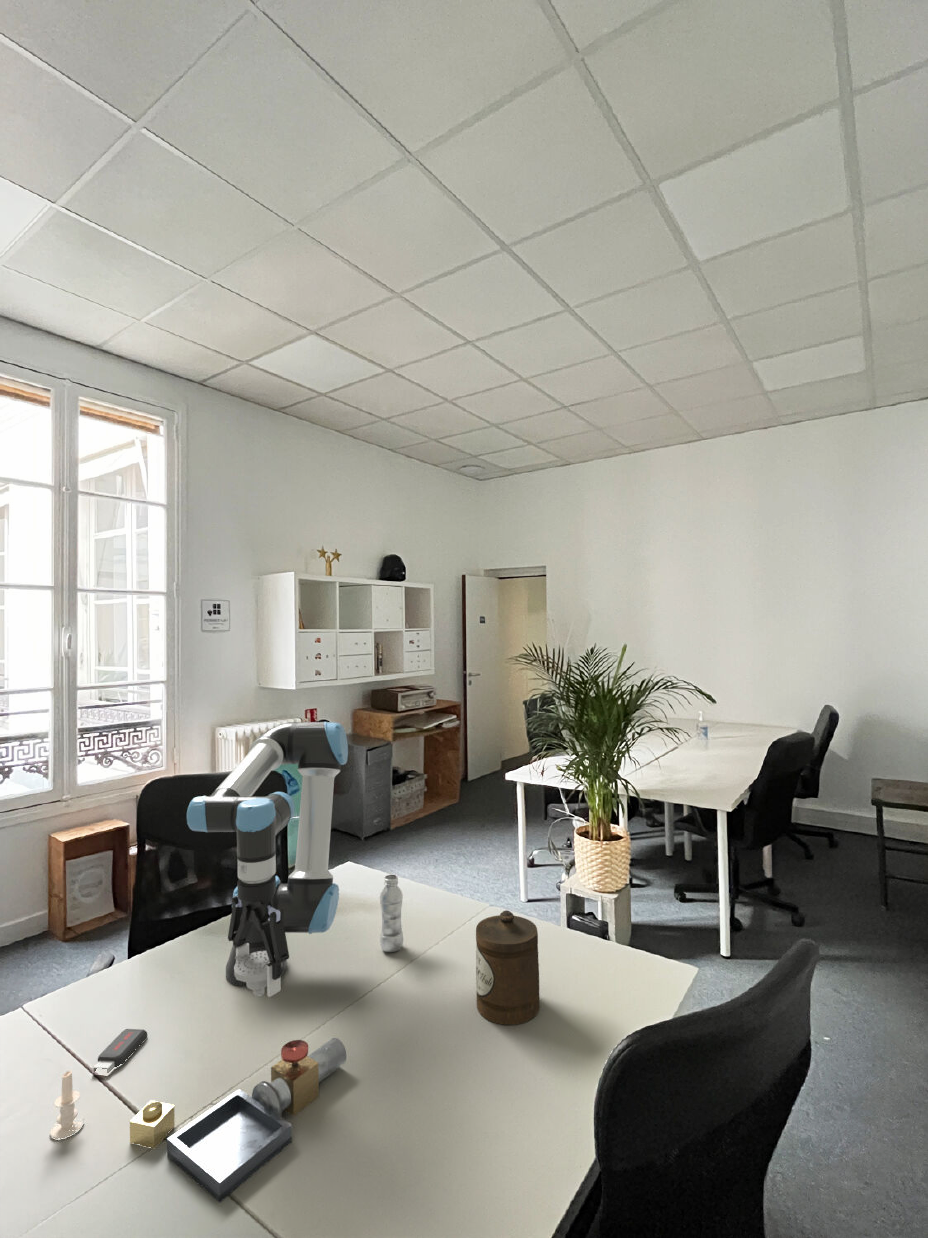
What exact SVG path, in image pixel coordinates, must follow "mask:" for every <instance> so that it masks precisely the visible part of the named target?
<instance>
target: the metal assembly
mask: <svg viewBox="0 0 928 1238" xmlns="http://www.w3.org/2000/svg"><path fill="white" fill-rule="evenodd" d="M280 1049H281V1050H280V1058H281V1060H279V1061H278V1062H276V1063H275V1064H274V1065H272V1066H270V1076H271V1077H270V1082H268V1081H266V1080H265V1081H264V1080H263V1081H260V1082H259V1083H257V1084H255V1086H254V1087H253V1089H252V1092H251V1096H250V1095H249V1094H247V1093H246V1092H245V1091H242V1090H241V1089H239V1088H238V1089H237V1090H235V1091H233V1092H232V1093H230V1094H228V1096H226V1097H225V1098H224V1099H222V1100H221V1101H219V1102H217V1104H215V1105H214V1106H212V1107H210V1108H209V1109H208V1110H206V1111H204V1112H203V1113H202V1114H201V1115H199V1116H198V1117H196V1118H195V1119H193V1120H192V1121H190V1122H189V1123H188V1124H186V1125H185V1126H183V1127H181V1129H179V1130H177V1131H176V1132H175V1133H173V1134H172V1135H170V1136H169V1137H167V1138H166V1141H167V1142H166V1147H167V1148H166V1152H167V1155H166V1157H167V1158H168V1159H170V1161H172V1162H173V1164H175V1165H177V1166H178V1167H179V1168H180V1169H181V1170H182V1171H183V1172H184V1173H185V1174H186V1175H187V1176H189V1177H190V1178H191V1179H192V1180H194V1181H195V1182H196V1183H197V1184H198V1185H199V1186H200V1187H201V1188H203V1189H204V1190H205V1191H206V1192H207V1193H208V1194H209V1195H210V1196H211V1197H213V1198H214V1199H215V1200H216V1201H217V1202H219V1203H221V1202H222V1201H224V1199H226V1198H227V1197H228V1196H229V1195H231V1194H232V1193H233V1192H234V1191H235V1190H237V1189H238V1188H239V1187H240V1186H241V1185H243V1184H244V1183H245V1182H246V1181H247V1180H249V1178H251V1177H252V1176H253V1175H254V1174H255V1173H257V1172H258V1171H259V1170H260V1169H261V1168H263V1167H264V1166H265V1165H266V1164H267V1163H269V1162H270V1161H271V1160H272V1159H273V1158H275V1157H276V1156H277V1155H278V1154H279V1153H281V1152H282V1151H283V1150H284V1149H285V1148H287V1147H288V1146H289V1145H290V1144H291V1143H292V1142H293V1141H292V1139H293V1138H292V1135H293V1134H292V1124H291V1123H290V1122H289V1121H287V1120H285V1119H284V1118H283V1117H282V1112H283V1111H284V1112H286V1113H288V1114H289V1115H291V1116H292V1117H295V1116H296V1115H297V1114H298V1113H300V1112H301V1111H303V1110H304V1109H305V1108H306V1107H308V1105H310V1104H312V1103H313V1101H315V1100H316V1099H317V1098H319V1097H320V1096H319V1094H320V1093H319V1092H320V1090H319V1089H320V1088H319V1087H320V1086H319V1083H321V1081H323V1080H324V1079H325V1078H327V1077H328V1076H329V1075H331V1074H332V1073H333V1072H335V1071H337V1069H339V1068H340V1067H341V1066H342V1065H343V1064H345V1063H346V1061H347V1054H348V1053H347V1049H346V1047H345V1045H344V1043H343V1042H342V1040H340V1039H339V1038H338V1037H332V1038H331V1039H329V1040H328V1041H327V1042H325V1043H324V1044H323V1045H321V1046H320V1047H318V1048H317V1049H316V1050H314V1051H313V1052H312V1053H310V1054H309V1043H308V1042H307V1041H305V1040H302V1039H294V1040H291V1041H288V1042H287V1043H285V1044H284V1045H282V1047H281V1048H280ZM308 1054H309V1055H308Z"/></svg>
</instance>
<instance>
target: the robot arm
mask: <svg viewBox="0 0 928 1238" xmlns="http://www.w3.org/2000/svg"><path fill="white" fill-rule="evenodd" d="M344 728H345V727H344V726H343V724H341V723H340V722H330V721H329V722H328V721H320V722H319V721H315V722H314V721H312V722H311V721H310V722H309V721H307V722H295V721H291V722H285V723H281V724H279V725H276V726H274V727H272V728H270V729H268V730H266V731H264V732H263V733H262V734H260V735H259V736H258V737H257V738H256V739H254V741H253V742H252V743H251V744H250V746H249V747H248V753H247V754H246V755H245V757H243V759H242V760H241V761H239V763H238V764H237V766H236V767H235V768H234V769H233V770H232V771H231V772H230V773H229V774H228V775H227V777H226V778H225V779H224V780H223V781H222V782H221V783H220V784H219V786H217V788H216V789H215V790H214V791H213V792H212V794H210V795H208V796H207V795H203V796H201V795H200V796H196V797H193V798H192V799H191V800H190V802H189V805H188V806H187V811H186V821H187V822H186V824H187V826H188V828H189V830H191V831H192V832H205V833H220V832H221V833H222V832H223V833H228V832H229V833H234V832H235V833H236V846H237V847H236V848H237V849H236V851H237V854H236V857H237V878H238V880H237V883H236V884H237V886H236V887H235V888H234V890H233V894H232V898H231V915H230V920H229V921H230V922H229V928H228V934H227V940H228V941H229V942H232V946H231V949H230V952H229V956H228V959H227V961H226V962H227V963H226V965H225V978H226V980H227V982H229V983H230V984H232V985H234V986H239V987H247V985H246V982H243V981H240V980H238V979H237V978H236V977H235V974H234V966H235V964H236V962H237V960H236V959H235V957H236V956H239V957H241V958H242V957H244V956H246V955H248V954H250V953H254V952H258V951H267V954H268V958H269V961H270V962H269V963H267V987H266V991H267V995H266V996H267V997H268V998H271V997H272V996H274V995H276V994H277V993H279V992H280V991H281V989H282V987H281V986H282V985H281V979H282V975H283V974H284V973H285V972H286V969H287V966H288V965H287V963H288V962H287V961H288V960H290V953H289V948H288V941H287V935H286V933H290V934H292V933H293V934H294V933H295V934H298V933H299V934H300V933H301V934H302V933H303V934H304V933H305V934H308V935H312V934H318V933H319V934H321V933H325V932H327V931H328V930H329V929H330V927H331V926H332V925H333V922H334V921H335V917H336V914H337V910H338V905H339V899H340V888H339V887H340V886H339V885H338V884H336V883H334V875H333V874H332V873H331V872H330V871H329V859H330V858H329V856H330V843H331V830H332V829H331V828H332V815H333V814H332V813H333V801H334V788H335V778H336V776H337V775H338V774H339V773H340V772H341V765H342V766H344V765H346V764H347V762H348V757H349V745H348V738H347V737H348V736H347V733H346V730H345V729H344ZM282 765H283V766H284V765H297V772H298V773H299V774H300V775H301V776H302V780H301V781H302V783H301V791H300V792H301V793H300V805H299V806H300V807H299V815H298V817H299V818H298V827H297V830H298V831H297V839H296V840H297V841H296V842H297V843H296V854H295V865H294V870H293V871H292V872H291V873H290V874H289V875H288V878H287V883H281V880H280V877H279V876H278V875H275V874H277V873H276V872H277V862H276V861H277V859H276V836H277V835H278V834H279V833H280V831H282V830H283V829H284V828H285V827H286V826H287V825H288V824H289V823H290V821H291V819H292V818H293V816H294V815H295V810H296V807H295V806H296V805H295V802H294V799H293V797H291V796H290V795H289V794H288V793H285V792H283V791H275V792H273V793H269V794H268V795H267V796H253V795H255V793H256V791H258V789H259V788H260V786H261V785H262V783H263V782H264V780H265V779H266V778H267V777H268V776H269V775H270V773H271V771H275V770H277V769H278V768H279V767H280V766H282ZM274 955H275V957H274Z"/></svg>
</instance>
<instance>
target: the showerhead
mask: <svg viewBox="0 0 928 1238" xmlns="http://www.w3.org/2000/svg"><path fill="white" fill-rule="evenodd" d="M274 957H275V955H274ZM235 959H236V960H237V962H236V964H235V966H234V974H235V977H236V978H237V979H238V980H240V981H243V982H246V985H247V986H246V988H247V989H249V990H251V991H253V996H255V997H260V996H263V995H264V994H265V991H266V990H265V988H267V963H269V962H270V961H269V958H268V954H267V951H258V952H254V953H250V954H248V955H246V956H244V957H242V958H241V957H239V956H236V957H235Z"/></svg>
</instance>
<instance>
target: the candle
mask: <svg viewBox="0 0 928 1238" xmlns="http://www.w3.org/2000/svg"><path fill="white" fill-rule="evenodd" d="M72 1073H73V1071H72V1070H67V1071H66V1072H65V1073H63V1075H62V1078H61V1079H62V1080H61V1095H58V1097H57V1098H56V1099H55V1100H54V1106H55V1107H56V1108H59V1113H60V1114H58V1116H57V1117H56V1123H58V1124H56V1123H55V1124H54V1125H56V1126H55V1127H53V1126H52V1127H53V1129H51V1128H50V1130H51V1131H49V1136H50V1135H51V1136H53V1138H55V1139H58V1138H60V1139H61V1138H65V1137H67V1136H70V1135H72V1134H74V1133H75V1132H76V1131H75V1130H78V1129H80V1128H81V1126H77V1127H75V1125H82V1122H78V1123H76V1122H74V1123H73V1121H74V1120H76V1119H75V1118H76V1117H77V1115H79V1114H78V1113H79V1112H78V1109H76V1108H75V1103H76V1102H77V1101H78V1100H79V1099H80V1098H81V1094H80V1092H79V1091H78V1090H77V1091H76V1090H73V1074H72ZM78 1120H79V1119H78ZM80 1120H81V1119H80ZM57 1125H58V1126H57ZM72 1125H73V1127H72ZM69 1130H70V1131H69ZM72 1130H74V1131H72Z"/></svg>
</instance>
